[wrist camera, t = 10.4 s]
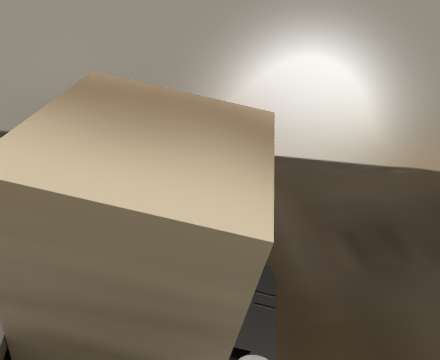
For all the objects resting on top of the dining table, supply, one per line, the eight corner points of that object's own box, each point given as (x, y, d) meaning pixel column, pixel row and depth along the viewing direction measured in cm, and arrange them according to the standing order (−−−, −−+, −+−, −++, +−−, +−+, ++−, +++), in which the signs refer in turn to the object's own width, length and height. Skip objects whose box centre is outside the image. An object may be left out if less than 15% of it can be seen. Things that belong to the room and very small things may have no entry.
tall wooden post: (175, 498, 12) (274, 241, 5) (42, 467, 12) (-44, 169, 5) (199, 364, 16) (274, 112, 9) (97, 341, 16) (93, 71, 9)
